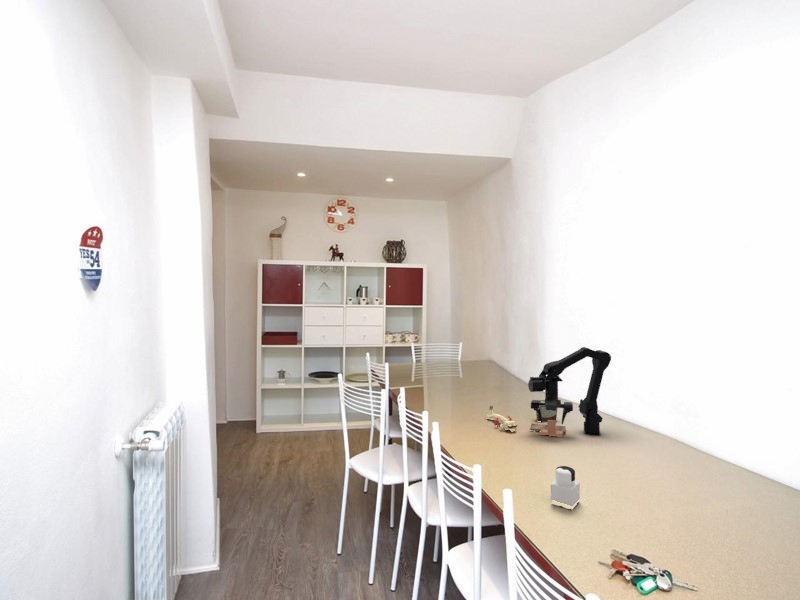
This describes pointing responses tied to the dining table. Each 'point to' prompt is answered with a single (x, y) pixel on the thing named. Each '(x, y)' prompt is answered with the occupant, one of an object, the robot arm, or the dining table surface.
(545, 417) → the food container
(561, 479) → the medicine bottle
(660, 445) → the dining table surface
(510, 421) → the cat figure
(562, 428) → the ticket board
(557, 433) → the stub
